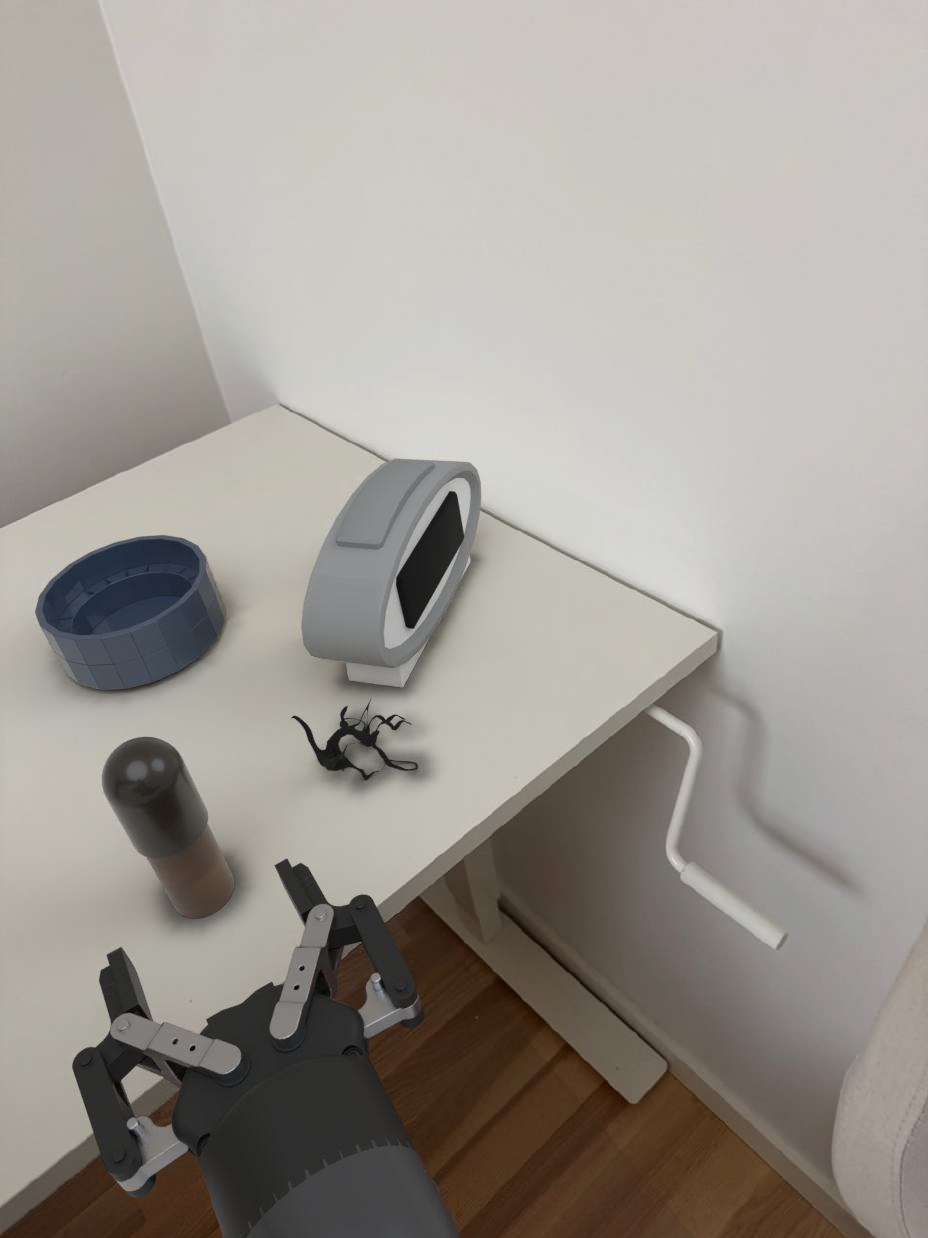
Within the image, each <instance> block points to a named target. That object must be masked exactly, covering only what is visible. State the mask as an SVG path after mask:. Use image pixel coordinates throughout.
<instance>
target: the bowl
mask: <svg viewBox="0 0 928 1238" xmlns="http://www.w3.org/2000/svg"><path fill="white" fill-rule="evenodd" d="M225 608H226V607H225V602H224V600H223V597H222V595H221V592H220V590H219V588H218V584H217V582H216V580H215V576H214V574H213V571H212V568H211V566H210V564H209V561H208V558H207V556H206V555H205V553H204V552H203V550H202V549H201V547H200V546H199V545H198V544H196V543H194V542H193V541H190V540H188V539H186V538H185V537H179V536H173V535H166V534H158V535H157V534H156V535H142V536H141V535H140V536H135V537H132V538H127V539H124V540H119V541H115V542H112V543H110V544H107V545H105V546H102V547H99V548H97V549H94V550H91V551H89V552H88V553H86V554H84V555H82V556H81V557H79V558H77V559H75V560H74V561H72V562H71V563H69V564H68V565H66V566H65V567H64V568H63V569H62V570H61V571H59V572H58V573H57V574H56V575H55V576H53V577H52V578H51V579H50V580H49V581H48V582H47V584H46V585H45V587H44V588H43V589H42V591H41V592H40V593H39V595H38V598H37V602H36V606H35V611H34V615H35V617H36V619H37V622H38V625H39V627H40V630H41V631H42V633H43V635H44V636H45V639H46V640H47V642H48V644H49V646H50V648H51V650H52V651H53V653H54V655H55V657H56V659H57V661H58V662H59V664H60V666H61V668H62V670H63V672H64V673H65V675H66V676H68V677H69V678H70V679H71V680H73V681H74V682H76V684H78V685H80V686H84V687H88V688H92V689H95V690H101V691H103V690H104V691H105V690H126V689H127V690H128V689H131V688H135V687H139V686H143V685H147V684H151V683H154V682H157V681H160V680H161V679H163V678H166V677H168V676H170V675H173V674H175V673H177V672H179V671H182V669H184V668H186V667H187V666H188V665H190V664H192V663H193V662H194V661H195V660H196V659H198V658H199V657H201V656H202V655H203V654H204V653H205V652H206V651H207V649H209V648H210V647H211V645H212V644H213V643H214V642H215V641H216V640H217V639H218V637H219V635H220V632H221V631H222V628H223V627H224V624H225V621H226V609H225Z"/></svg>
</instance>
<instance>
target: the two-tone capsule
mask: <svg viewBox="0 0 928 1238" xmlns="http://www.w3.org/2000/svg"><path fill="white" fill-rule="evenodd" d="M101 786H102V787H101V788H102V791H103V794H104V797H105V799H106V800H107V802H108V804H109V806H110V807H111V809H112V811H113V813H114V814H115V816H116V818H117V820H118V821H119V823H120V825H121V827H122V829H123V830H124V832H125V833H126V835H127V837H128V840H129V841H130V842H131V844H132V846H133V847H134V849H135V850H136V852H137V853H138V854H140V855H142V857H143V856H144V857H145V858H146V860H147V861H148V863H149V865H150V866H151V869H152V870H153V873H154V874H155V875H156V877H157V879H158V881H159V882H160V885H161V886H162V888H163V890H164V891H165V894H166V895H167V897H168V899H169V900H170V902H171V904H172V906H173V907H174V910H175V911H176V912H177V913H178V914H179V915H181V916H183V917H185V918H189V919H202V918H207V917H209V916H211V915H213V914H215V913H217V912H218V911H219V910H221V909H222V908H223V907H224V906H225V905H226V904H227V903H228V902H229V900H230V899H231V897H232V896H233V894H234V889H235V883H236V882H235V877H234V874H233V873H232V870H231V868H230V867H229V865H228V863H227V860H226V858H225V856H224V854H223V852H222V849H221V848H220V846H219V844H218V841H217V840H216V837H215V835H214V833H213V831H212V829H211V827H210V825H209V811H208V809H207V807H206V805H205V802H204V800H203V798H202V796H201V794H200V792H199V790H198V788H197V786H196V784H195V781H194V779H193V777H192V775H191V773H190V771H189V769H188V767H187V765H186V763H185V760H184V758H183V756H182V755H181V753H180V752H179V751H178V749H176V747H174V746H173V745H172V744H171V743H169V742H168V741H166V740H164V739H162V738H159V737H154V736H139V737H134V738H131V739H128V740H126V741H124V742H122V743H120V744H119V745H118V746H117V747H116V748H114V749H113V751H112V752H111V753H110V754H109V756H108V757H107V759H106V761H105V762H104V765H103V767H102V772H101Z"/></svg>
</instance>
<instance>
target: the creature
mask: <svg viewBox="0 0 928 1238" xmlns="http://www.w3.org/2000/svg"><path fill="white" fill-rule="evenodd" d="M370 698H371V699H369V702H368V703H367V705H366V707H365V709H364V711H363V712H362V713H361V716H360V719H358V718H353V717H345V715H346V713H347V711H348V708H349V705H346V706H344V707H343V708H342V709H341V711H340V713H339V715H340V721H339V727H340V728H338V729H336V730H335V731H334V732H333V734H332V735H331V736H330V737H329V739H327V741H326V746H325V748H324V749H321V748H320V747H319V746H318V745H317V743H316V740H315V737H314V734H313V731H312V729H311V727H310V726H309V725H308V723H307V722H306V721H304V720H303V718H301V717H299V716H298V715H292V716H291V717H290V719H291V720H292V719H294V720H296V721H297V722H298V723H299V724H300V725H301V727H302V728H303V730H304V732H305V735H306V738H307V741H308V743H309V745H310V747H311V748H312V751H313V752H314V754H315V756H316V757H315V758H316V759H317V762H318V763H319V765H320V766H321V767H323V768H325V769H326V771H328V772H338V771H342V772H344V771H345V770H346V769H348V768H350V769H351V768H352V769H354V770H356V771H358V772H359V773H360V774H361V777H362V778H363V779H364V781H368V780H369V779H370V778H371V777H372V776H373V775H374V774H375V773H379V772H380V771H382V770H383V769H384V768H385V766H387V767H388V768H391V769H396V770H398V771H402V772H412V771H416V770H418V768H419V765H418V763H417V762H415V761H411V760H396V759H395V760H394V759H389V758H388V756H387V754H386V753H385V751H383V750H382V748H380V747H379V746H378V745H377V742H378V736H379V734H380V730H379V728H380V726H381V725H386V726H388V727H389V728H390V729H391V730H392V731H395V732H396V731H397V730H398V729H399V728H400V726H401V725H402V724H403V723H406V724H408V725H411V726H412V725H413V723H412V722H409V721H406V720H407V719H406V718H405V717H403V716H400V715H399V714H395V713H394V714H392V715H389V716H388V717H384V716H383V715H381V714H374V716H373V717H372V718H371V720H370V721H369V723H366V722H365V721H363V720H362V719H363V717H364V715H365V713H366V715H367V717H368V716H369V708H370V704H371V701H372V699H373V697H370ZM395 717H398V718H400V720H398V721H397V722H396V723H395V724H393V723H392V721H393V719H394V718H395ZM376 718H377V719H379V720H380V721H381V722H380V723H379V724H378V725H377V726H376V729H375V730H373V731H372V732H371V729H370V727H371V723H372V722H373V720H375V719H376ZM347 720H356V721H358V722H357V723H354V724H351V725H349V722H348V721H347ZM361 722H362V723H363V724H364V726H363V728H362V730H359V729H357V728H356V727H358V726H359V725H360V724H361ZM347 735H348V736H352V737H354V739H356V740H357V741H359V744H361V745H364V746H365V747H366V748H372V749H374V750H375V751H376V752H377V754H378V755H379V756H380V758H381V759H382V760H383V762H384V765H383V766H384V767H382V768H381V770H376V771H372V772H370V773H369V774H367V773H366V772H365V770H364V769H363V768H359V767H358V766H356V765H355V764H354V763H352V761H351V760H349V758H348V757H347V756H346V755H345V754H346V750H347V748H348V746H350V743H348V744H346V745H345V747H344V749H343V751H342V750H341V748H340V747H341V746H340V743H341V739H342V738H344V737H346V736H347ZM353 744H355V742H353V743H351V745H353ZM394 762H395V763H408V764H414V765H415V767H414V768H405V767H403V766H400V765H398V764H395V763H394Z"/></svg>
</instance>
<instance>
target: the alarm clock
mask: <svg viewBox="0 0 928 1238" xmlns="http://www.w3.org/2000/svg"><path fill="white" fill-rule="evenodd" d="M481 481H482V480H481V477H480V475H479V470H478V469H477V468H476V467H475V466H474V464H472V462H470V461H459V460H458V461H457V460H439V459H438V460H437V459H415V458H392V459H390V460H388V461H386V462H384V463H383V462H382V463H381V464H380V465H379V466H378V467H377V468H376V469H374V470H373V471H372V472H371V473H369V474H368V475H367V476H366V477H365V478H364V479H363V480H362V482H361V483H360V484H359V485H358V486H357V488H356V489H355V490H354V491H353V492H352V494H351V495H350V497H349V498H348V500H346V503H345V504H344V506H343V507H342V509H341V510H340V511H339V513H338V515H336V518H335V520H334V521H333V524H332V526H331V527H330V529H329V531H328V533H327V534H326V537H325V539H324V541H323V543H322V545H321V546H320V550H319V552H318V555H317V558H316V560H315V563H314V565H313V568H312V570H311V573H310V577H309V580H308V583H307V588H306V592H305V595H304V598H303V599H304V600H303V605H302V616H301V623H300V627H301V635H302V644H303V646H304V648H305V650H306V652H307V653H308V654H309V656H310V657H313V658H316V659H321V660H328V661H333V662H334V661H335V662H341V663H342V662H343V663H345V665H346V672H347V673H346V674H347V678H348V681H351V682H358V683H364V684H365V683H366V684H372V685H373V684H374V685H380V686H388V687H395V688H396V687H397V688H404V687H405V685H406V683H407V681H408V679H409V678H410V675H411V673H412V671H413V670H414V668H415V666H416V665H417V662H418V660H419V658H420V657H421V655H422V653H423V651H424V649H425V648H426V645H427V643H428V641H429V640H430V638H431V636H432V635H433V634H434V633H435V631H436V629H437V627H438V626H439V624H440V622H441V621H442V620H443V617H444V615H445V614H446V612H447V611H448V608H449V607H450V604H451V603H452V600H453V598H454V596H455V594H456V592H457V590H458V587H459V585H460V583H461V581H462V579H463V576H464V575H465V573H466V571H467V570H468V567H469V565H470V563H471V561H472V559H471V551H472V549H473V545H474V543H475V538H476V533H477V529H478V525H479V521H480V514H481V505H482V482H481Z"/></svg>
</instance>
